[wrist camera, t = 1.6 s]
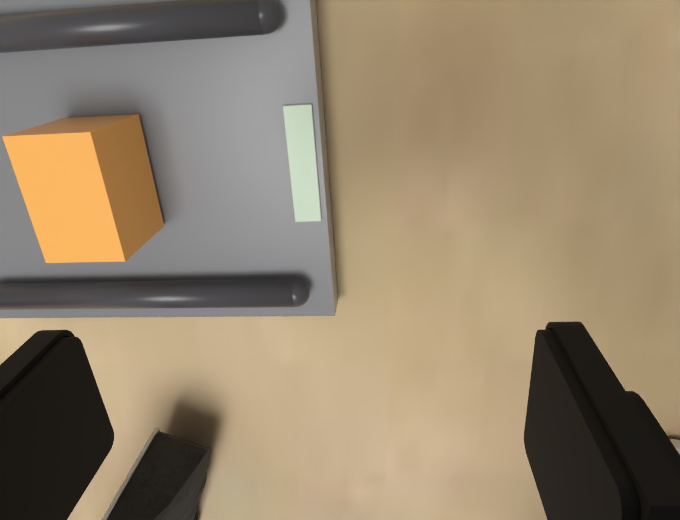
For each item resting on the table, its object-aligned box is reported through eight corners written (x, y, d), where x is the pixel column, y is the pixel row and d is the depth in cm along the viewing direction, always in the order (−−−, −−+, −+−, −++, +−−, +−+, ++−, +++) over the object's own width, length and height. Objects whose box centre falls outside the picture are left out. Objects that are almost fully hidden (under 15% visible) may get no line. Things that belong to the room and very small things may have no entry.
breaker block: (312, -36, 24) (301, -44, 20) (338, 298, 31) (332, 330, 28) (-108, 0, 26) (-179, -3, 23) (11, 302, 34) (-30, 332, 30)
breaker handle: (138, 113, 25) (90, 132, 21) (164, 226, 28) (125, 261, 24) (63, 118, 25) (1, 136, 21) (95, 227, 28) (45, 262, 24)
